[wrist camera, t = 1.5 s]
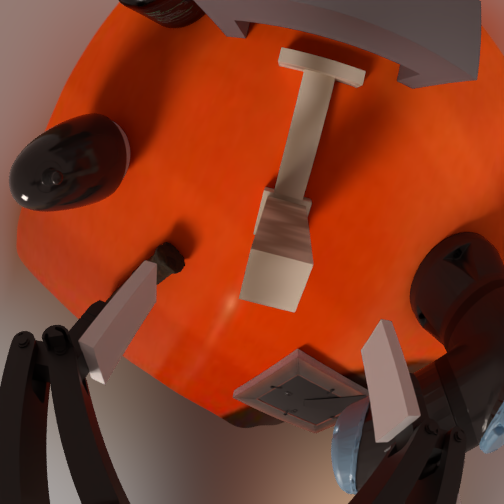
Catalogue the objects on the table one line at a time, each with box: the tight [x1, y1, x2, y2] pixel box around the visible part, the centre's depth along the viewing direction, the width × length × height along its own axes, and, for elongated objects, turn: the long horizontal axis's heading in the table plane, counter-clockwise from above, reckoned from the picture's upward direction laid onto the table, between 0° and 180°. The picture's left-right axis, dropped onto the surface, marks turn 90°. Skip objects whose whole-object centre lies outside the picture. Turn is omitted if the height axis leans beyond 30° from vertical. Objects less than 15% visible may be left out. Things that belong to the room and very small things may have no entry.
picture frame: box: [233, 349, 369, 433], centre depth 44 cm, size 16×2×22 cm
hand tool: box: [106, 242, 185, 303], centre depth 35 cm, size 19×4×5 cm, turn 126°
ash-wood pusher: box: [239, 47, 366, 312], centre depth 21 cm, size 8×20×14 cm, turn 168°
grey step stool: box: [194, 0, 481, 89], centre depth 14 cm, size 20×8×12 cm, turn 78°
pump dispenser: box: [9, 114, 130, 212], centre depth 22 cm, size 10×10×15 cm
